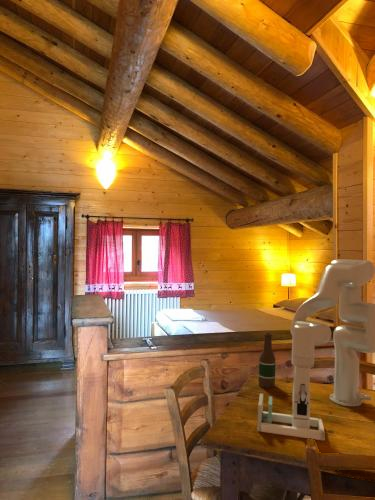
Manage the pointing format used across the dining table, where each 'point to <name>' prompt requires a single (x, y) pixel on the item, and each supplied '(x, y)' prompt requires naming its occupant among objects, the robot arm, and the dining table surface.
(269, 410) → the plate
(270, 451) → the dining table surface
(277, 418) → the white angular frame
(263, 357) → the beer bottle
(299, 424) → the syrup box
